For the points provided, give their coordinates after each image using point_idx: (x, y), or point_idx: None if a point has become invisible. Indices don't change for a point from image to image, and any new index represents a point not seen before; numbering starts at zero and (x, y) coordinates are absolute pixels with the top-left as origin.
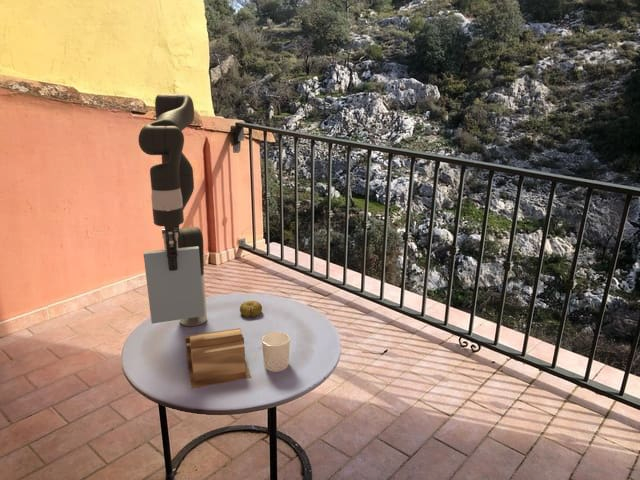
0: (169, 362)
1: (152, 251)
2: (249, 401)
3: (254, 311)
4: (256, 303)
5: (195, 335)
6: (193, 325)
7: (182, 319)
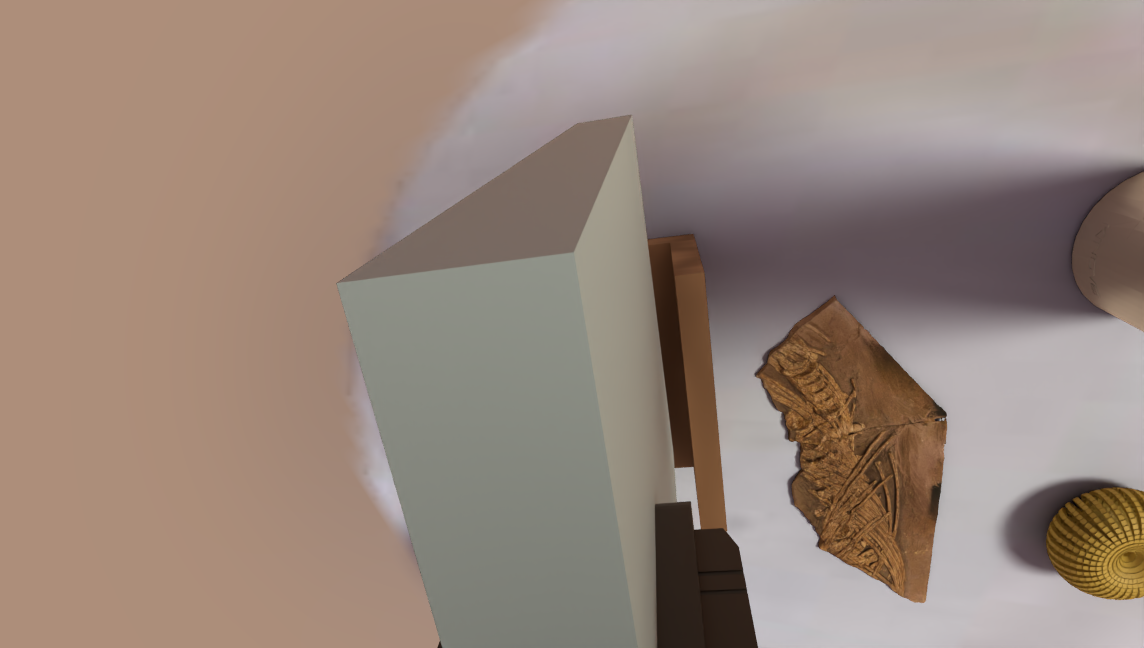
0: (707, 149)
1: (550, 498)
2: (385, 452)
3: (1057, 559)
4: (1124, 589)
5: (698, 325)
6: (1074, 248)
7: (1139, 193)
